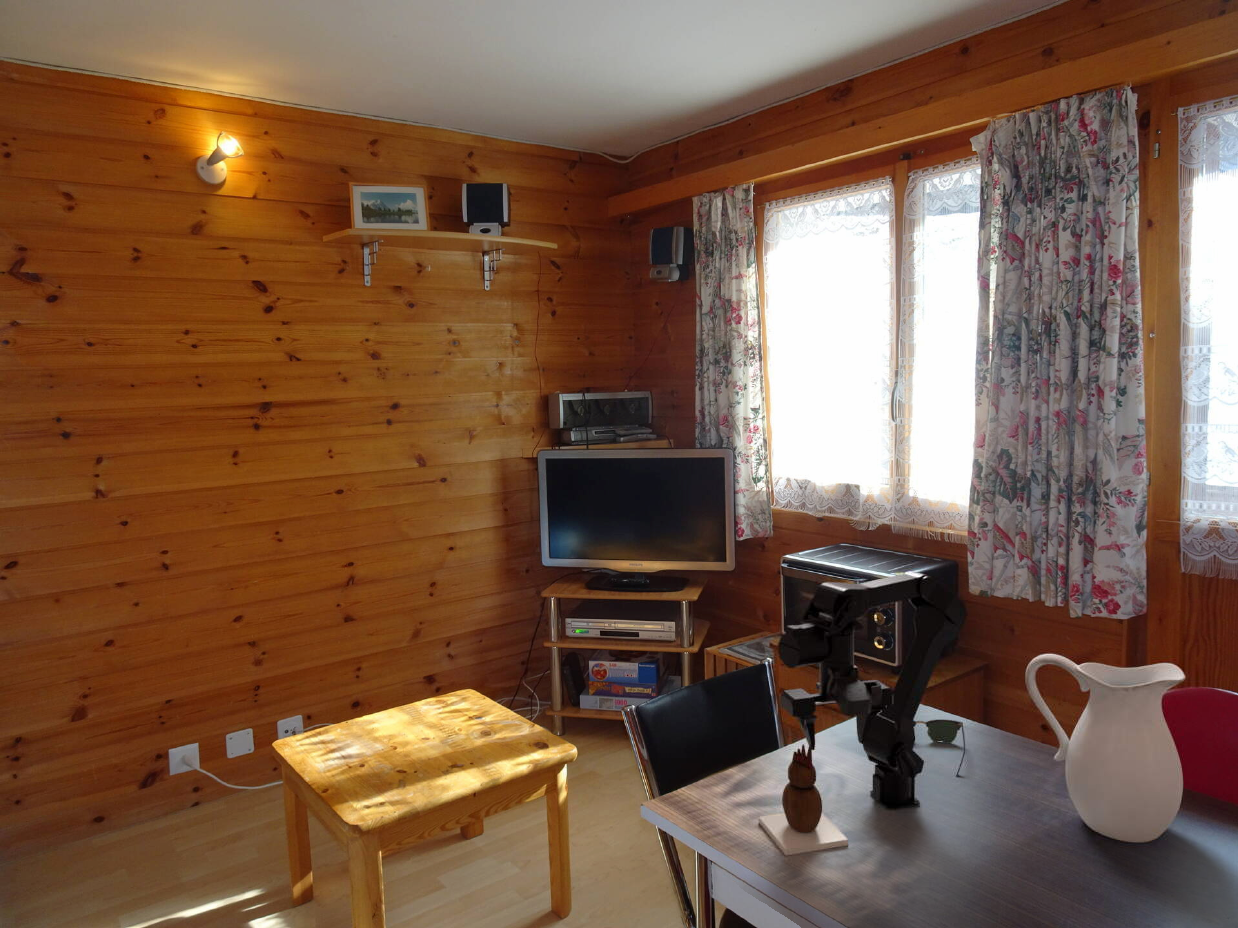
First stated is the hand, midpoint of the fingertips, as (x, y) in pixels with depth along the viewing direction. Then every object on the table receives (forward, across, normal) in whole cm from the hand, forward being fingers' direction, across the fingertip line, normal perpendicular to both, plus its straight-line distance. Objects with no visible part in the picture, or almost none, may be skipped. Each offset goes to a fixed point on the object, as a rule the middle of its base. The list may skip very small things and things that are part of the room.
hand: (836, 745), depth 150 cm
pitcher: (+13, +42, -13) cm, 46 cm away
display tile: (+13, -8, -3) cm, 16 cm away
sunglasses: (+14, +29, +18) cm, 36 cm away
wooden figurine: (+12, -8, -3) cm, 15 cm away
